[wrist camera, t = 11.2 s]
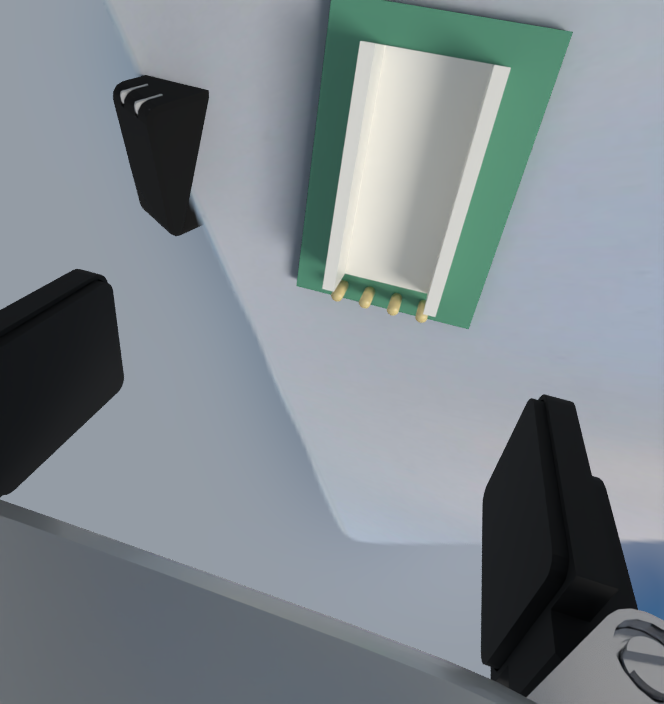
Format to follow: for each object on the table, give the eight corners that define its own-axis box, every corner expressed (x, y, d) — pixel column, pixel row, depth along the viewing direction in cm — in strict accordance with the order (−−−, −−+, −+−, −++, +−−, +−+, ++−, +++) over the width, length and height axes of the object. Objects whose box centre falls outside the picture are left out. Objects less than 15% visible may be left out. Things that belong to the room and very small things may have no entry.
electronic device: (241, 172, 44) (141, 213, 39) (234, 51, 36) (108, 84, 31) (271, 194, 42) (171, 240, 38) (270, 72, 35) (144, 111, 30)
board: (336, -7, 28) (314, -17, 24) (569, 32, 26) (585, 28, 22) (300, 280, 37) (281, 305, 34) (468, 322, 36) (467, 353, 32)
